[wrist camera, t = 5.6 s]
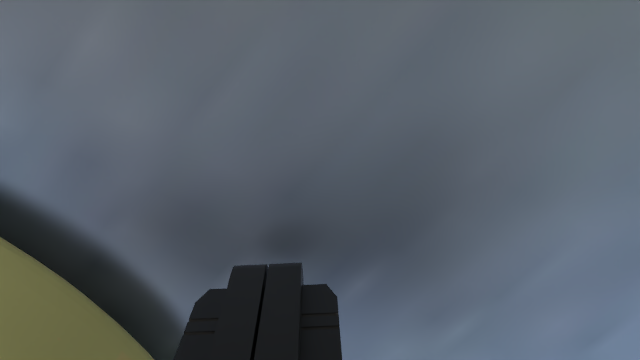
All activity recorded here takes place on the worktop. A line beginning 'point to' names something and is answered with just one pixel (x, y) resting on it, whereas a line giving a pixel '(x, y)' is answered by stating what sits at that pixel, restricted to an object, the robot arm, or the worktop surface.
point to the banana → (54, 317)
